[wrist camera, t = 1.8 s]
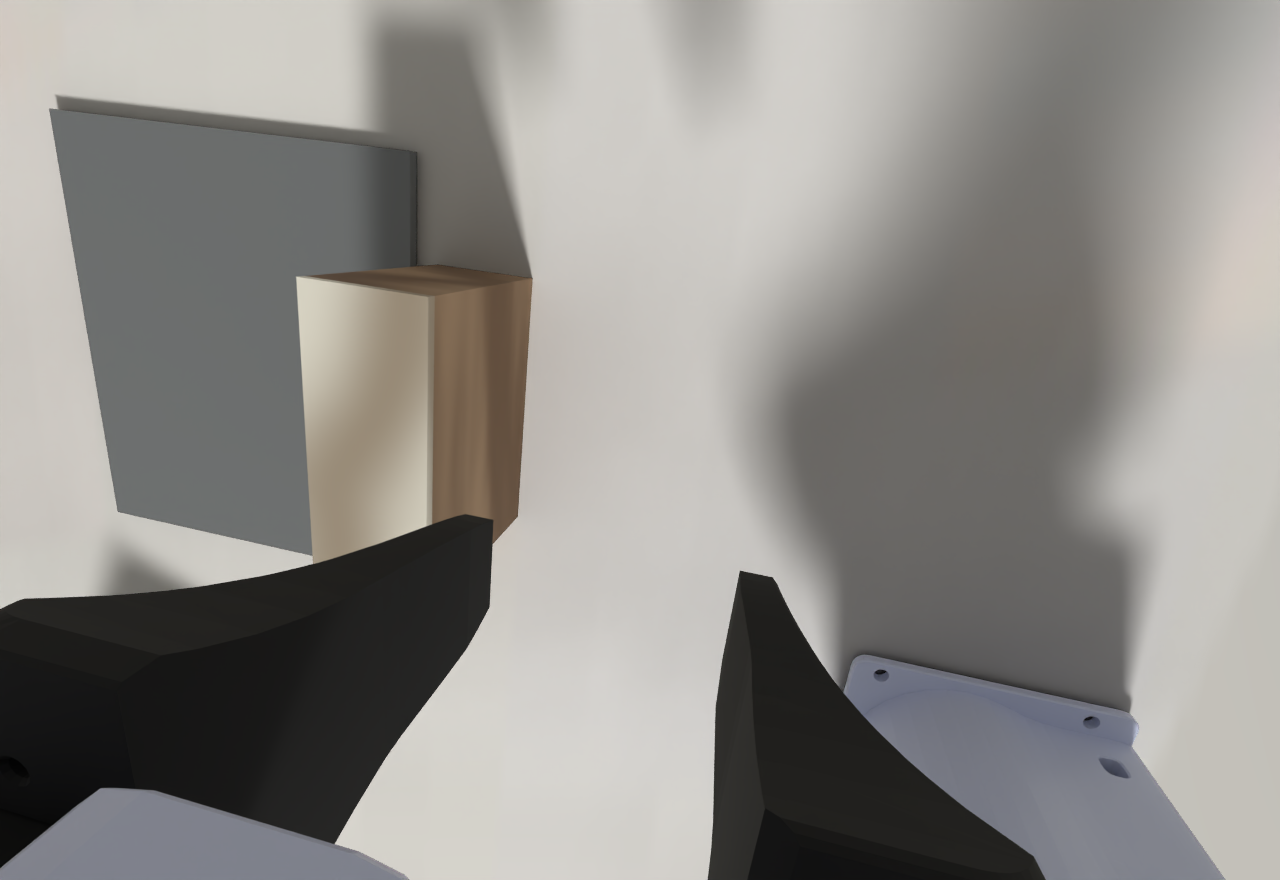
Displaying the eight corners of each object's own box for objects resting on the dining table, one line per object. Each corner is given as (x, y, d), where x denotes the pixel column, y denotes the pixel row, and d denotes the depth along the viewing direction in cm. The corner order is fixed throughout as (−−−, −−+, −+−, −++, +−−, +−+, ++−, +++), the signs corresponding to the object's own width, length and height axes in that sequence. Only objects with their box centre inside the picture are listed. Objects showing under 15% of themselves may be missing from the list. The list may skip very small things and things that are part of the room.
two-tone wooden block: (533, 278, 21) (428, 297, 15) (518, 515, 24) (425, 618, 18) (437, 264, 22) (296, 276, 15) (434, 498, 25) (314, 592, 18)
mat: (416, 152, 21) (410, 150, 20) (415, 572, 26) (410, 577, 26) (61, 110, 23) (49, 108, 22) (126, 508, 28) (117, 511, 28)
